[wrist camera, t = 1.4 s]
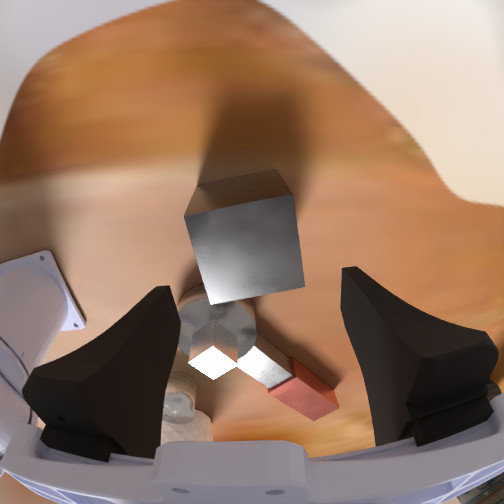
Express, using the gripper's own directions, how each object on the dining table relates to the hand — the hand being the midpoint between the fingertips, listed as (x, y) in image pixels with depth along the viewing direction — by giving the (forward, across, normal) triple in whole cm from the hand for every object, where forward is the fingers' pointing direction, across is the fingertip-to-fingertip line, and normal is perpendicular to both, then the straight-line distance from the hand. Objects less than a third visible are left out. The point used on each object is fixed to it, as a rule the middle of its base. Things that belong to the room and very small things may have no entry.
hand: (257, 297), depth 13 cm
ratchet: (+10, +1, +14) cm, 17 cm away
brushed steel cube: (+10, +1, 0) cm, 10 cm away
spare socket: (+9, +10, +17) cm, 21 cm away
